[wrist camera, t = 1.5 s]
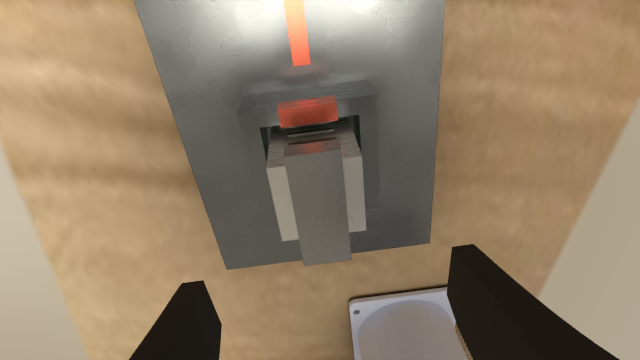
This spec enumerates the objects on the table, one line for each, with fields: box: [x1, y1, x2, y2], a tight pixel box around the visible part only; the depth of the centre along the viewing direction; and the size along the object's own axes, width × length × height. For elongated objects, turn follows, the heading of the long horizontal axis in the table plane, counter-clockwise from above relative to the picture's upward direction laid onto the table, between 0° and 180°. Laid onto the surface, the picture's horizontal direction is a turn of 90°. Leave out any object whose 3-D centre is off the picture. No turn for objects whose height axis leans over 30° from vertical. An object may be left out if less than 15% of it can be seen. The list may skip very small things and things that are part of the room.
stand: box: [134, 0, 445, 270], centre depth 18 cm, size 16×13×4 cm
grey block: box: [266, 116, 366, 266], centre depth 16 cm, size 5×4×6 cm
